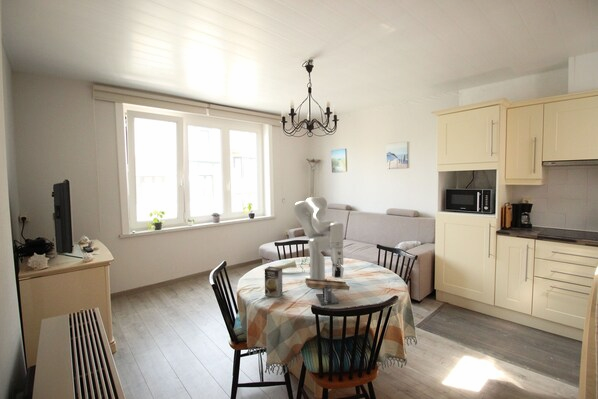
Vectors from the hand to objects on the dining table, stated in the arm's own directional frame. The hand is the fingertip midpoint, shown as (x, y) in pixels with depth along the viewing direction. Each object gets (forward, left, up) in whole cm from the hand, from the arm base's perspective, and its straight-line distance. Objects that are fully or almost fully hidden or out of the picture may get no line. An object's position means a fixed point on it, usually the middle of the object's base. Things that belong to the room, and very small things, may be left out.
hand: (336, 275), depth 164 cm
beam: (-4, -4, -6) cm, 8 cm away
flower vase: (-46, +27, -14) cm, 55 cm away
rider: (0, 0, -1) cm, 1 cm away
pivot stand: (-4, -4, -14) cm, 15 cm away
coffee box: (-35, -13, -14) cm, 40 cm away
